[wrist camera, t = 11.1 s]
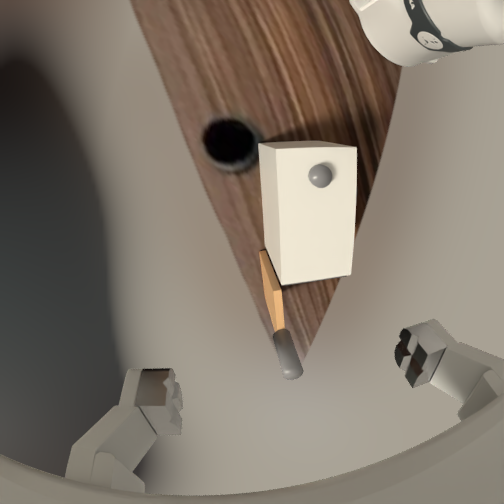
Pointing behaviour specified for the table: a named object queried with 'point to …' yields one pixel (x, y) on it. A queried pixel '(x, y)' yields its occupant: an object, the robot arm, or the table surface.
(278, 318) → the wooden flat board
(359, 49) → the table surface
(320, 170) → the camera case
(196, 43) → the table surface
